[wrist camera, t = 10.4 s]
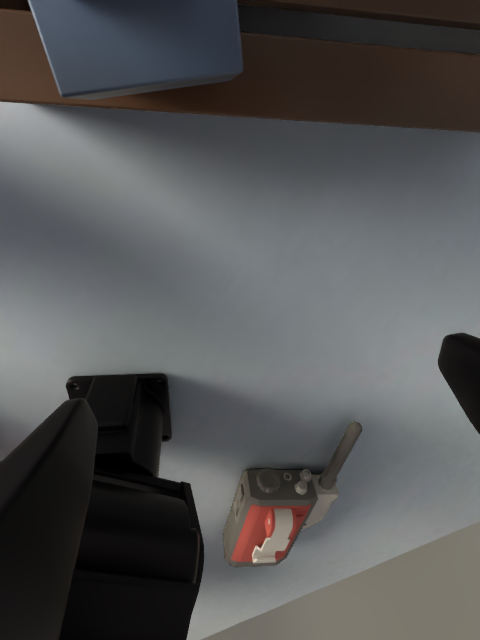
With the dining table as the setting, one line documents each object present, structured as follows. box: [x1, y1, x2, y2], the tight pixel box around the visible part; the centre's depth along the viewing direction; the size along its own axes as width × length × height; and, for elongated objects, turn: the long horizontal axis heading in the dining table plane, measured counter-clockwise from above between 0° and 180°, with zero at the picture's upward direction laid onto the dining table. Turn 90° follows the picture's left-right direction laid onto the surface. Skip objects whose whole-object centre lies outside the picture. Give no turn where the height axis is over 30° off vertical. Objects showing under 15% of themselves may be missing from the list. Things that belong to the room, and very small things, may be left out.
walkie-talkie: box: [223, 421, 362, 567], centre depth 30 cm, size 9×4×20 cm
